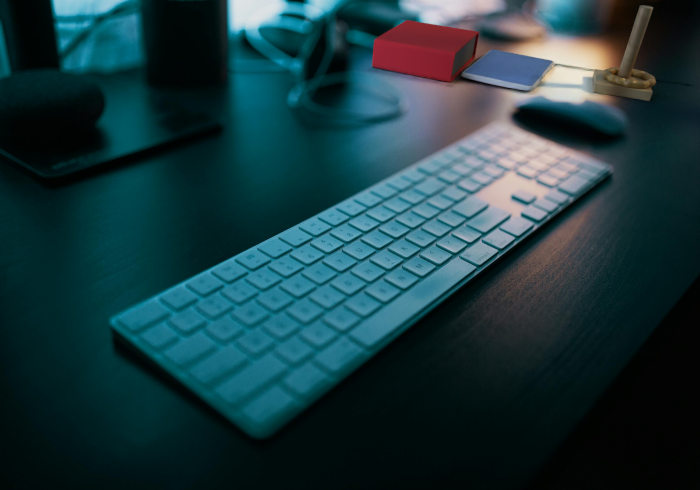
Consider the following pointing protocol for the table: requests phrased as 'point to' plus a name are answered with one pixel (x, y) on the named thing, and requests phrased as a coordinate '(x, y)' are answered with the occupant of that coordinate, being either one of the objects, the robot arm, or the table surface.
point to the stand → (627, 63)
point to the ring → (626, 82)
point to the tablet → (509, 70)
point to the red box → (425, 50)
